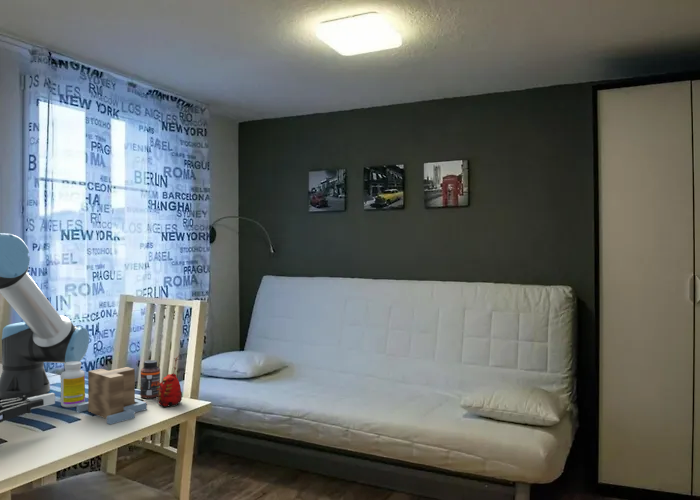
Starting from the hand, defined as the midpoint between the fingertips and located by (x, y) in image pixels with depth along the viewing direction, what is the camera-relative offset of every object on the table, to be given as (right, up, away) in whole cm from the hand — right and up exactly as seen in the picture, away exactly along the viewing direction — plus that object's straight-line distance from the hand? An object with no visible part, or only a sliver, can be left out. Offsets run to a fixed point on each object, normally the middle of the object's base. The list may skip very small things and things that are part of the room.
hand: (53, 398), depth 153 cm
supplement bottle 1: (-5, -8, +21) cm, 22 cm away
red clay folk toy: (+24, -8, +23) cm, 34 cm away
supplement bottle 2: (+15, -8, +31) cm, 35 cm away
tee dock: (+11, -8, +15) cm, 20 cm away
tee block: (+11, -8, +15) cm, 20 cm away
